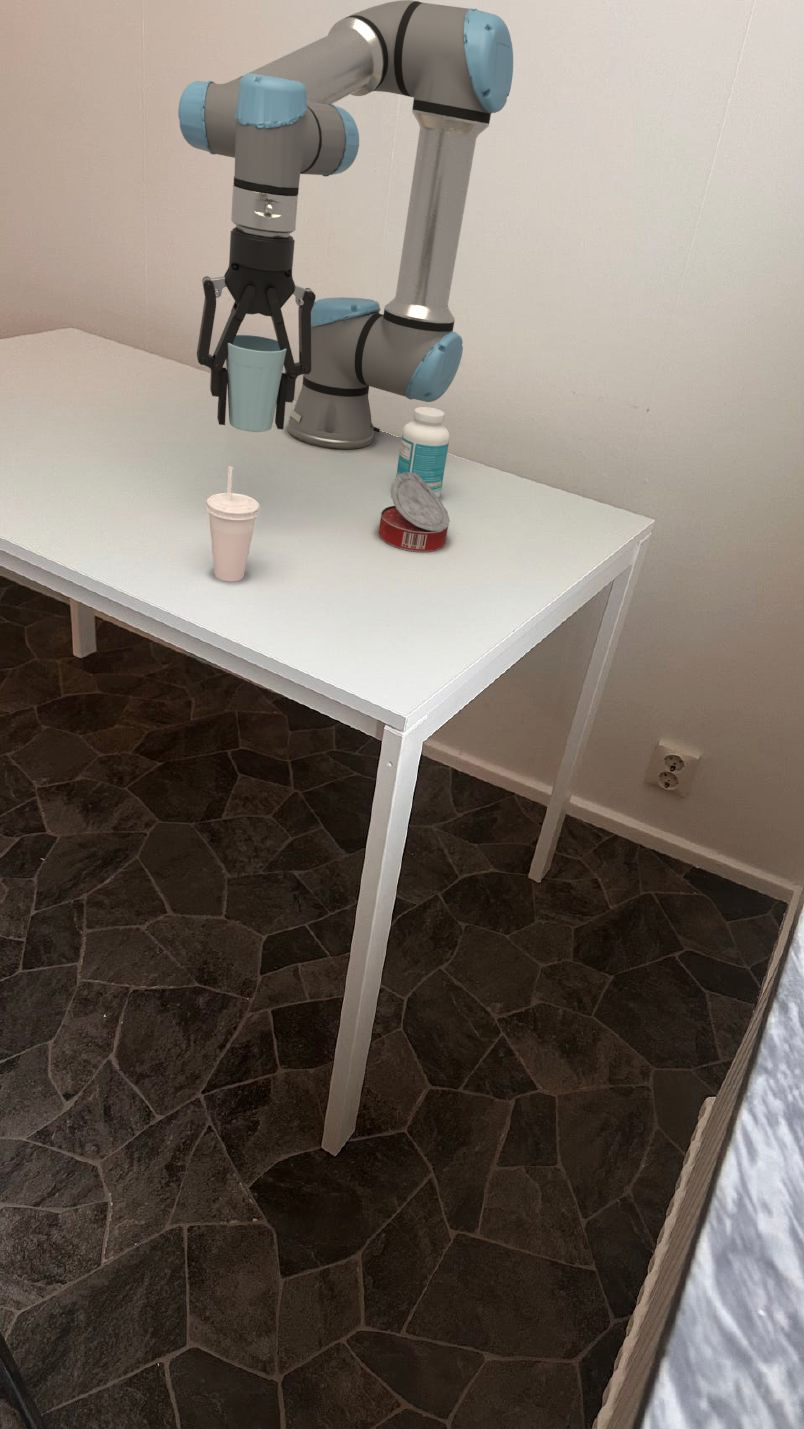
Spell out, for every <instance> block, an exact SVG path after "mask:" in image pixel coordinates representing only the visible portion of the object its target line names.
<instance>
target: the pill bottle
mask: <svg viewBox="0 0 804 1429" xmlns="http://www.w3.org/2000/svg"><path fill="white" fill-rule="evenodd" d="M444 420H445V412H444V411H442V410H441V409H438V408H435V407H428V406H418V407H416V408H414V410H413V420H412V421H409V422H407V423H406V424H405V425H404V426H403V427H402V430H401V431H402V432H401V439H400V446H399V452H398V461H397V468H396V474H395V478H396V477H397V475H399V474H401V473H404V472H409V473H416V474H417V475H418V476H420V477H421V478H422V479H423V480H424V481H425V483H426V484H427V485H428V486H429V487H430V488H431V489H432V490H433V492H434V493H435V495H436V496H437V497H438V498H439V499H440V497H441V492H442V487H443V480H444V475H445V468H446V462H447V457H448V451H449V443H450V438H451V436H450V432H449V430H448V429H447V428H446V427H445V426H444V425H442V424H443V423H444V422H445V421H444Z"/></svg>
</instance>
